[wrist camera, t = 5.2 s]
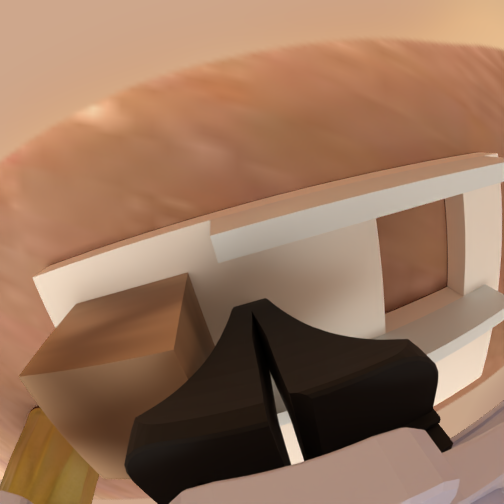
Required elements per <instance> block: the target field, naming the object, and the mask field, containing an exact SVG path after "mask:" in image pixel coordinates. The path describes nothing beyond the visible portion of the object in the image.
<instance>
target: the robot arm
mask: <svg viewBox="0 0 504 504" xmlns="http://www.w3.org/2000/svg"><path fill="white" fill-rule="evenodd" d="M270 373H271V375H272V378H273V380H274V382H275V385H276V387H277V389H278V391H279V394H280V396H281V398H282V400H283V403H284V405H285V407H286V409H287V412H288V414H289V417H290V419H291V422H292V425H293V428H294V431H295V435H296V438H297V441H298V444H299V447H300V450H301V453H302V456H303V459H304V461H303V462H300V463H297V464H293V465H291V462H290V458H289V455H288V452H287V448H286V445H285V442H284V438H283V435H282V432H281V428H280V425H279V420H278V416H277V411H276V405H275V399H274V393H273V387H272V381H271V375H270ZM437 385H438V369H437V367H436V364H435V363H434V362H433V361H432V360H431V359H430V358H429V357H428V356H427V355H426V354H425V353H424V352H423V351H422V350H421V349H420V348H419V347H418V346H416V345H415V344H414V343H412V342H411V341H410V340H409V339H387V340H376V339H364V338H355V337H348V336H344V335H339V334H334V333H330V332H327V331H324V330H321V329H318V328H315V327H312V326H310V325H307V324H305V323H303V322H301V321H299V320H297V319H296V318H294V317H292V316H291V315H289V314H287V313H286V312H284V311H283V310H281V309H280V308H278V307H277V306H276V305H274V304H273V303H272V302H271V301H270V300H268V299H266V298H263V299H260V300H257V301H253V302H250V303H246V304H243V305H239V306H235V307H233V309H232V311H231V314H230V317H229V319H228V322H227V324H226V326H225V328H224V331H223V333H222V335H221V337H220V339H219V340H218V342H217V344H216V346H215V347H214V349H213V351H212V352H211V354H210V355H209V357H208V358H207V359H206V361H205V362H204V363H203V365H202V366H201V367H200V368H199V369H198V370H197V371H196V372H195V373H194V374H193V375H192V376H191V377H190V378H189V379H188V380H187V381H186V382H185V383H184V384H183V385H182V386H181V387H180V388H179V389H177V390H176V391H175V392H174V393H172V394H171V395H170V396H169V397H167V398H166V399H165V400H163V401H162V402H160V403H159V404H157V405H156V406H154V407H152V408H151V409H149V410H147V411H146V412H144V413H143V414H141V415H139V416H137V417H135V420H134V423H133V426H132V429H131V433H130V437H129V442H128V447H127V452H126V458H125V463H124V466H125V469H126V473H127V474H128V475H129V477H130V478H131V479H132V481H133V482H134V483H135V484H137V485H138V486H139V487H140V488H141V489H142V490H143V491H144V492H145V493H146V494H147V495H149V496H150V497H151V498H152V499H153V500H154V501H155V502H157V503H158V504H504V400H503V401H502V402H500V403H499V404H498V405H497V406H496V407H494V408H493V409H492V410H491V411H489V412H488V413H487V414H485V415H484V416H483V417H481V418H480V419H479V420H477V421H476V422H474V423H473V424H471V425H470V426H469V427H467V428H466V429H464V430H463V431H461V432H460V433H458V434H457V435H456V436H454V437H452V438H451V439H450V438H449V437H448V435H447V434H446V433H445V432H444V430H443V429H442V428H441V427H440V425H439V424H438V423H440V416H439V415H438V414H437V413H436V411H435V410H434V409H433V405H434V400H435V396H436V391H437ZM0 504H33V503H32V502H30V501H29V500H28V499H26V498H24V497H22V496H20V495H17V494H13V493H10V492H6V491H3V490H1V491H0Z"/></svg>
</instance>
